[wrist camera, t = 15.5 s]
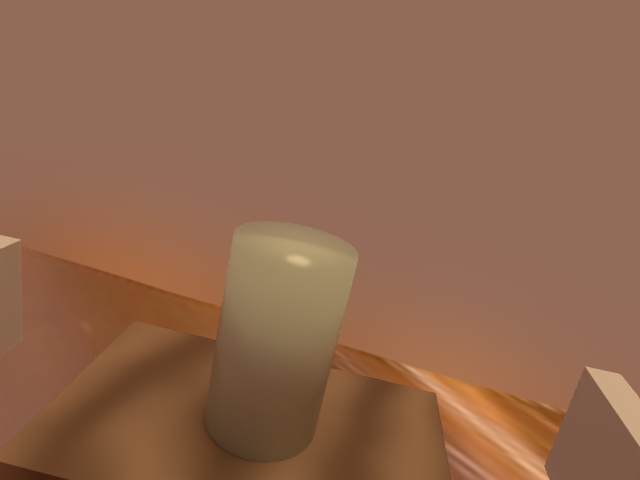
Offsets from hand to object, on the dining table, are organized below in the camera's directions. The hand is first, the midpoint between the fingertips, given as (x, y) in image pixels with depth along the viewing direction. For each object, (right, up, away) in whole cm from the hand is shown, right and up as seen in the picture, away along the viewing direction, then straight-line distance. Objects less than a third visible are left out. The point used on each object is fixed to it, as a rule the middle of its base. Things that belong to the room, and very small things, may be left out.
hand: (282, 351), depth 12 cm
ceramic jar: (-3, -8, +17) cm, 19 cm away
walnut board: (-3, -9, +18) cm, 20 cm away
